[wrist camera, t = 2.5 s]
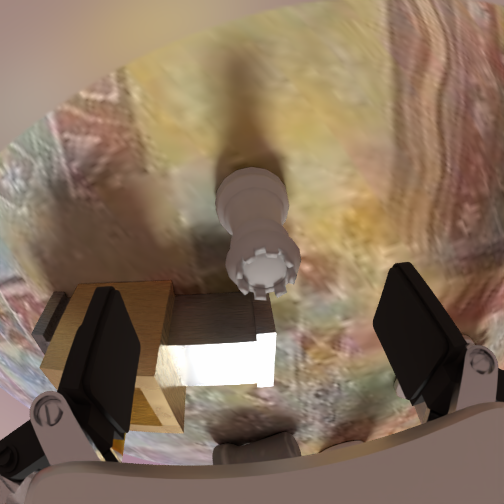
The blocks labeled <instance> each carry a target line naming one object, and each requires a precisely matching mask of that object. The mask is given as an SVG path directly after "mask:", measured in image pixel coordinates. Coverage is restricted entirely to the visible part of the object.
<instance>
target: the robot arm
mask: <svg viewBox="0 0 504 504" xmlns="http://www.w3.org/2000/svg"><path fill="white" fill-rule="evenodd" d="M373 327H374V330H375V332H376V334H377V336H378V338H379V340H380V343H381V345H382V347H383V349H384V351H385V353H386V355H387V358H388V360H389V362H390V364H391V366H392V369H393V371H394V373H395V375H396V377H397V378H396V381H395V383H394V389H395V392H396V394H397V395H398V397H400V398H404V399H407V400H410V402H411V404H412V406H414V407H415V409H416V412H417V414H418V417H419V419H420V422H421V425H418V426H415V427H413V428H410V429H407V430H404V431H401V432H398V433H395V434H392V435H389V436H385V437H382V438H379V439H375V440H372V441H368V442H364V443H361V444H357V445H353V446H349V447H345V448H340V449H336V450H331V451H327V452H322V453H317V454H311V455H306V456H300V457H294V458H287V459H280V460H272V461H264V462H254V463H243V464H228V465H202V466H180V465H149V464H147V465H146V464H133V463H122V462H121V460H120V459H119V457H118V456H117V455H116V453H115V452H114V450H113V449H112V447H113V439H117V440H124V436H125V433H128V432H129V429H130V421H131V413H132V405H133V397H134V390H135V383H136V376H137V370H138V363H139V357H140V351H141V345H140V341H139V339H138V336H137V334H136V331H135V329H134V327H133V324H132V322H131V319H130V317H129V314H128V312H127V309H126V307H125V304H124V301H123V299H122V296H121V293H120V291H119V290H115V288H114V287H113V286H103V287H97V288H96V289H95V291H94V294H93V296H92V299H91V301H90V304H89V306H88V309H87V311H86V314H85V317H84V319H83V322H82V325H81V326H79V327H78V329H77V332H76V334H75V337H74V340H73V343H72V346H71V349H70V352H69V354H68V358H67V361H66V364H65V367H64V370H63V373H62V376H61V380H60V383H59V387H58V390H57V392H54V391H47V392H44V393H42V394H40V395H39V396H37V397H36V398H35V400H34V401H33V403H32V405H31V408H30V420H29V421H27V422H26V423H24V424H23V425H22V426H20V427H19V428H17V429H16V430H14V431H13V432H12V433H10V434H9V435H8V436H6V437H5V438H4V439H2V440H0V504H504V370H501V369H499V368H498V361H497V359H496V357H495V355H494V354H493V352H492V351H490V350H489V349H488V348H486V347H484V346H481V345H474V342H473V341H472V339H471V338H470V337H469V336H467V335H462V334H461V333H460V331H459V329H458V328H457V326H456V325H455V323H454V322H453V320H452V319H451V317H450V316H449V314H448V313H447V312H446V310H445V309H444V307H443V306H442V304H441V303H440V302H439V300H438V299H437V297H436V296H435V294H434V293H433V292H432V290H431V289H430V288H429V286H428V285H427V284H426V282H425V281H424V279H423V278H422V277H421V275H420V274H419V273H418V272H417V270H416V269H415V268H414V266H413V265H412V264H411V263H410V262H403V263H396V264H394V265H393V267H392V268H390V270H389V272H388V276H387V279H386V282H385V285H384V289H383V292H382V295H381V298H380V301H379V304H378V307H377V310H376V313H375V316H374V319H373Z"/></svg>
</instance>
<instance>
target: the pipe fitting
mask: <svg viewBox="0 0 504 504" xmlns="http://www.w3.org/2000/svg"><path fill="white" fill-rule="evenodd" d="M300 456H301V452H300V449H299V446H298V444H297V442H296V440H295V438H294V437H293V436H292V435H291V434H290V433H288V432H283V433H279V434H276V435H274V436H271V437H268V438H265V439H262V440H259V441H256V442H253V443H249V444H246V445H243V446H236V445H234V444H230V443H226V444H222V445H218V446H216V447H215V448H214V450H213V455H212V458H213V465H228V464H243V463H254V462H264V461H272V460H280V459H287V458H294V457H300Z"/></svg>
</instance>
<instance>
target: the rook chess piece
mask: <svg viewBox="0 0 504 504" xmlns="http://www.w3.org/2000/svg"><path fill="white" fill-rule="evenodd" d="M215 205H216V211H217V215H218V218H219V221H220V223H221V225H222V226H223V227H224V228H225V229H226V230H227V231H228V233H229V234H231V235H232V237H231V243H230V250H229V252H228V253H227V258H226V265H225V266H226V269H227V272H228V275H229V278H230V279H231V280H232V281H233V282H234V283H235V284H236V285H237V286H238V289H239V290H240V291H241V292H242V293H243V294H244V295H246V294H247V293H248V292H254V297H255V300H266V293H269V292H274V291H275V294H276V296H277V298H278V297H280V296H282V295H283V294H285V293H287V290H286V286H285V285H287V284H288V283H291V284H294V283H295V280H296V277H297V273H298V269H299V266H300V263H301V257H300V250H299V248H298V246H297V245H296V244H295V242H294V241H293V240H292V238H290V237H289V236H288V233H287V231H286V230H285V229H284V227H283V226H282V225H283V224H284V222H285V221H286V218H287V214H288V210H289V201H288V196H287V192H286V188H285V186H284V185H283V183H282V182H281V180H280V179H279V177H278V176H276V175H275V174H273V173H271V172H270V171H268V170H266V169H262V168H255V167H248V168H244V169H240V170H236V171H235V172H233V173H232V174H230V175H229V176H228V177H226V178H225V179H224V180H223V182H222V183H221V185H220V187H219V188H218V190H217V194H216V201H215Z"/></svg>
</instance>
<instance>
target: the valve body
mask: <svg viewBox="0 0 504 504" xmlns="http://www.w3.org/2000/svg"><path fill="white" fill-rule="evenodd" d="M103 286H113V287H114V288H115V290H119V291H120V293H121V296H122V299H123V301H124V304H125V307H126V309H127V312H128V314H129V317H130V319H131V322H132V324H133V327H134V329H135V331H136V334H137V336H138V339H139V341H140V345H141V351H140V357H139V363H138V370H137V376H136V383H135V390H134V397H133V405H132V413H131V421H130V429H129V430H131V431H143V432H159V433H184V414H185V395H186V386H208V385H231V384H247V383H257V386H258V387H267V386H273V380H274V362H275V344H276V330H275V324H274V319H273V314H272V308H271V303H270V298H269V293H266V300H255V297H254V292H248V293H247V294H246V295H244V294H243V293H242V292H231V293H214V294H195V295H175V293H174V289H173V284H172V280H164V281H143V282H120V283H93V284H78V286H77V288H76V290H75V292H74V293H73V295H72V297H71V298H67V296H66V294H65V292H54V293H53V294H52V296H51V298H50V300H49V302H48V303H47V305H46V307H45V309H44V311H43V313H42V314H41V316H40V318H39V320H38V322H37V324H36V326H35V328H34V330H33V332H32V334H31V335H32V336H33V338H34V339H35V341H36V342H37V344H38V346H39V347H40V349H41V350H42V351H43V353H44V354H45V356H44V358H43V361H42V363H41V366H40V369H41V370H42V371H43V373H44V374H45V375H46V377H47V378H48V379H49V380H50V382H51V383H52V384H53V385H54V387H55V388H56V389H57V390H58V387H59V383H60V380H61V376H62V373H63V370H64V367H65V364H66V361H67V358H68V354H69V352H70V349H71V346H72V343H73V340H74V337H75V334H76V332H77V329H78V327H79V326H81V325H82V322H83V319H84V317H85V314H86V311H87V309H88V306H89V304H90V301H91V299H92V296H93V294H94V291H95V289H96V288H97V287H103Z"/></svg>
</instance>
